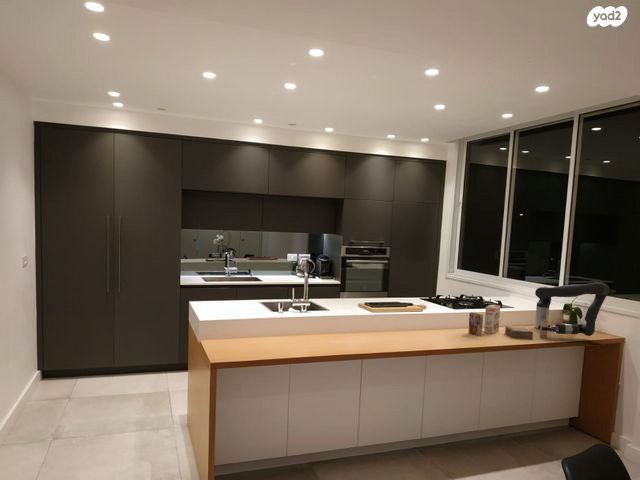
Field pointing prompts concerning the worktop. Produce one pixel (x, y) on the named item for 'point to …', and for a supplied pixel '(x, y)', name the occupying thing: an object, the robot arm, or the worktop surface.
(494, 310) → the coffeecake box
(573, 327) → the robot arm
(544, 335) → the terracotta canister
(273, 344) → the worktop surface
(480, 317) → the candy box
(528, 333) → the walnut base
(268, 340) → the worktop surface
